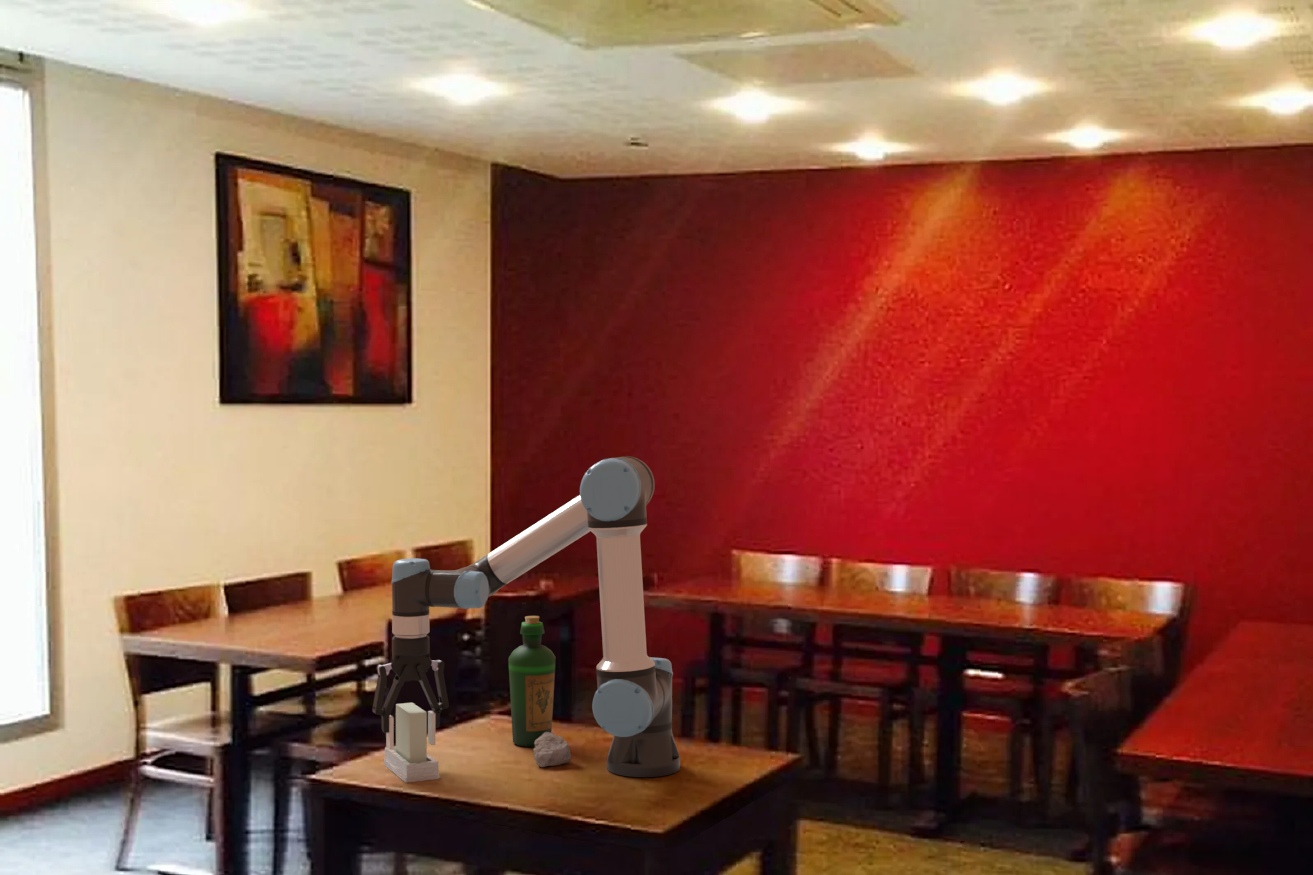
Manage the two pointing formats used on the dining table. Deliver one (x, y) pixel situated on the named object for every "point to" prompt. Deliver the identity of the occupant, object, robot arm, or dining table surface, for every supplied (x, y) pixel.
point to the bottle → (531, 685)
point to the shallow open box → (411, 767)
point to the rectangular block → (411, 732)
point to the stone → (551, 750)
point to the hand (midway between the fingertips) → (410, 745)
